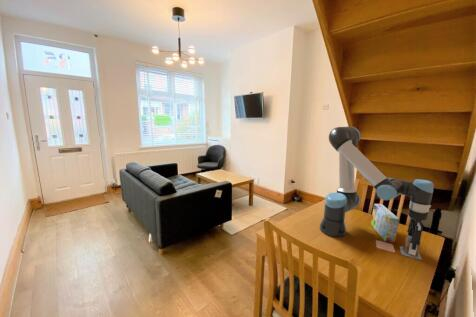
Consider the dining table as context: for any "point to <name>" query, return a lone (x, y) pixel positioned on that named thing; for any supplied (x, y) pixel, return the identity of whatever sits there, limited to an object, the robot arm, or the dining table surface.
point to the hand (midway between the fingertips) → (410, 250)
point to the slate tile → (408, 254)
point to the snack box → (385, 223)
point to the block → (407, 245)
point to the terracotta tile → (385, 246)
